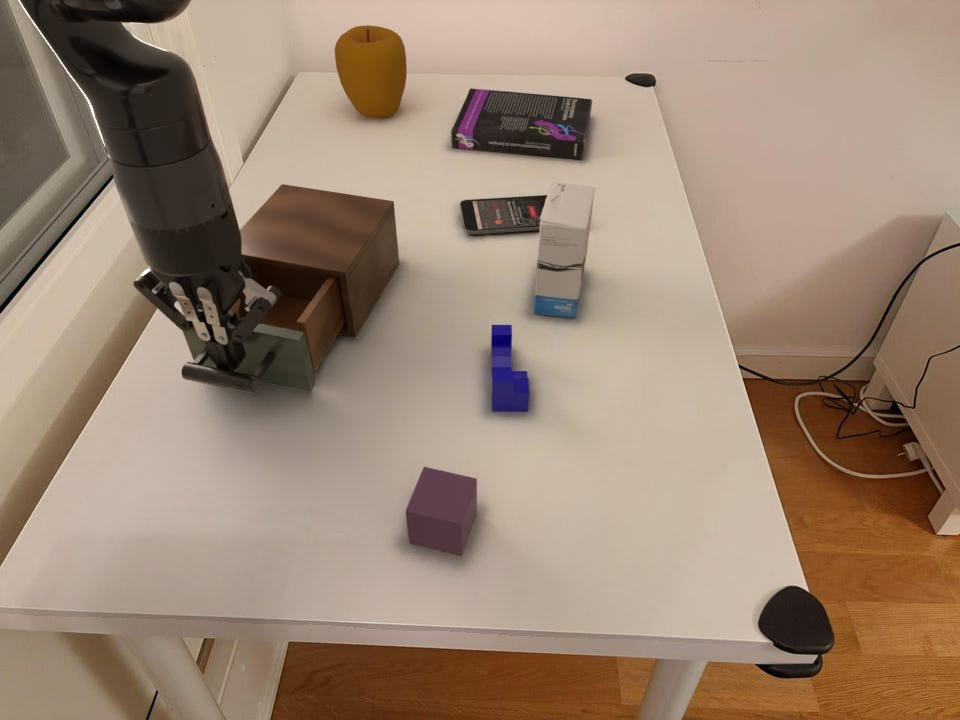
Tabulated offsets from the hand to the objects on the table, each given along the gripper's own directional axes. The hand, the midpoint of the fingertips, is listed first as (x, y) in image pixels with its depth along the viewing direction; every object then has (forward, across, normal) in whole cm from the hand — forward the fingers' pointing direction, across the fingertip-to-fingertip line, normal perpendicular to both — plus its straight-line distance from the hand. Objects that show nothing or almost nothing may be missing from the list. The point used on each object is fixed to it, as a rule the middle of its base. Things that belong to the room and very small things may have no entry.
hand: (231, 364), depth 66 cm
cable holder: (+5, +24, +10) cm, 26 cm away
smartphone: (+5, +18, +39) cm, 43 cm away
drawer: (+4, 0, +6) cm, 7 cm away
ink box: (+5, +26, +25) cm, 36 cm away
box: (+5, +14, +62) cm, 63 cm away
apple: (+5, -11, +62) cm, 63 cm away
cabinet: (+5, 0, +18) cm, 19 cm away
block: (+5, +23, -8) cm, 25 cm away
